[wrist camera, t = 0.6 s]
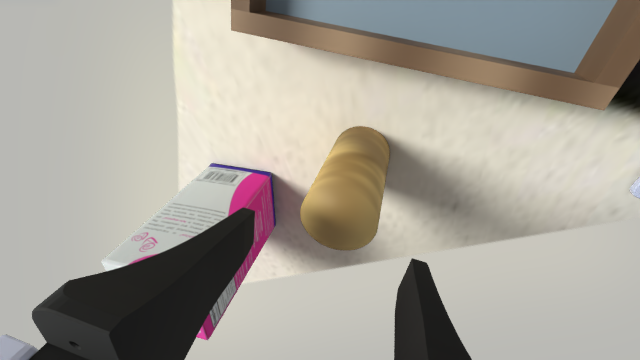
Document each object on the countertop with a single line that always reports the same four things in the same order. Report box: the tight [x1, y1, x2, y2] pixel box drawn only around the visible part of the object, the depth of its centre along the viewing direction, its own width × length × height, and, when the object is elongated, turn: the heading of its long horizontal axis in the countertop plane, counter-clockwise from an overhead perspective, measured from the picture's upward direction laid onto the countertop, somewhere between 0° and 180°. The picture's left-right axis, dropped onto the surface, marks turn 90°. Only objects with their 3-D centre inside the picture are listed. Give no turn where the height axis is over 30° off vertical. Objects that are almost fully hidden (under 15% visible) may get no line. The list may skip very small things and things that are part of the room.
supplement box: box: [102, 163, 275, 340], centre depth 22 cm, size 6×6×12 cm
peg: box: [300, 126, 390, 250], centre depth 19 cm, size 4×4×8 cm
